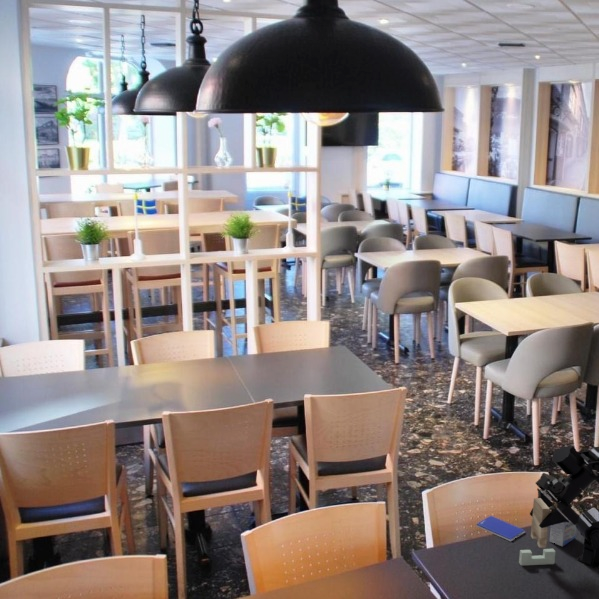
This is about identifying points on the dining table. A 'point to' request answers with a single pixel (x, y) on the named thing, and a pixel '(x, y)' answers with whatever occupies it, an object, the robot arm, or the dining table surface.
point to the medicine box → (562, 533)
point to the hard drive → (500, 528)
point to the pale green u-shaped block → (537, 557)
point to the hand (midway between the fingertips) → (535, 521)
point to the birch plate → (538, 516)
